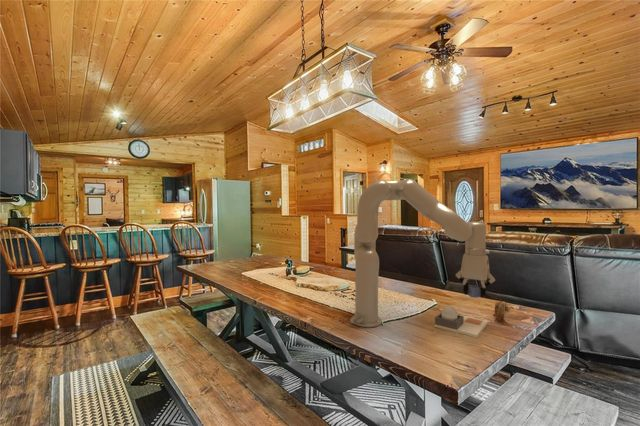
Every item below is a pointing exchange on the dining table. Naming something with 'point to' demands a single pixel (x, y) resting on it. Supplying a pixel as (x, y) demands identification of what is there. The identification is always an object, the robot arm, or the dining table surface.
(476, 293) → the decorative dice
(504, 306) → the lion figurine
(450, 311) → the dome button
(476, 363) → the dining table surface
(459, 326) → the game board
